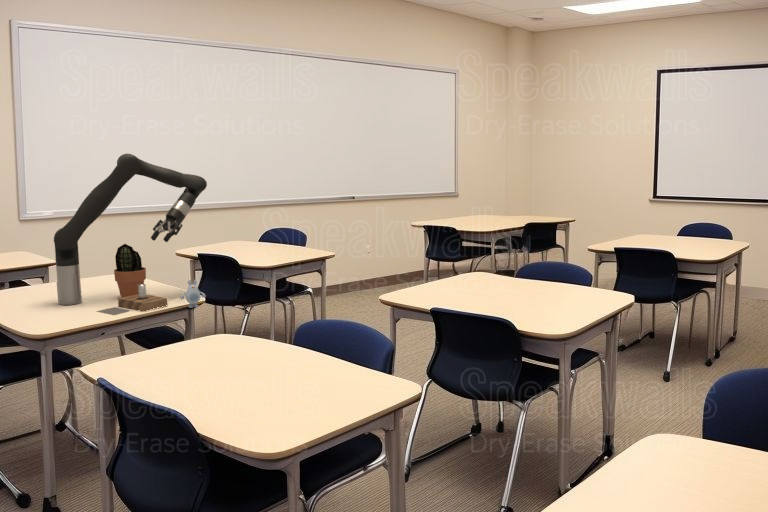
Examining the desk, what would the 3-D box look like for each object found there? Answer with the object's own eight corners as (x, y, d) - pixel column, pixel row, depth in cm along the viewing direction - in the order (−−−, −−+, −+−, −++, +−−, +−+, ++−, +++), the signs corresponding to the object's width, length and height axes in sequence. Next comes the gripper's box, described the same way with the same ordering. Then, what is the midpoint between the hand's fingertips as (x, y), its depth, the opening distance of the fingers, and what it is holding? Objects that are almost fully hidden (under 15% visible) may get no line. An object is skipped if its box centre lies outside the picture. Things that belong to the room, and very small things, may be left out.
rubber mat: (95, 312, 286) (95, 311, 286) (114, 308, 293) (114, 307, 293) (113, 316, 279) (113, 315, 279) (132, 311, 287) (132, 310, 286)
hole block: (118, 307, 294) (117, 298, 293) (142, 302, 304) (141, 293, 303) (144, 312, 285) (143, 303, 284) (167, 307, 295) (167, 298, 294)
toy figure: (181, 310, 290) (180, 282, 288) (179, 306, 295) (178, 279, 293) (207, 307, 294) (206, 280, 292) (204, 304, 299) (203, 277, 298)
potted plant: (148, 299, 311) (145, 244, 307) (116, 301, 305) (113, 246, 301) (146, 293, 323) (142, 240, 319) (115, 295, 317) (111, 242, 313)
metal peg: (137, 307, 294) (136, 284, 292) (143, 306, 297) (142, 283, 295) (142, 308, 292) (141, 285, 291) (148, 307, 295) (146, 284, 293)
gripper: (162, 206, 313) (143, 233, 306) (183, 207, 306) (164, 236, 298) (172, 216, 319) (153, 244, 311) (193, 218, 311) (174, 246, 303)
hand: (158, 240), depth 304 cm, fingers open, 8 cm apart
